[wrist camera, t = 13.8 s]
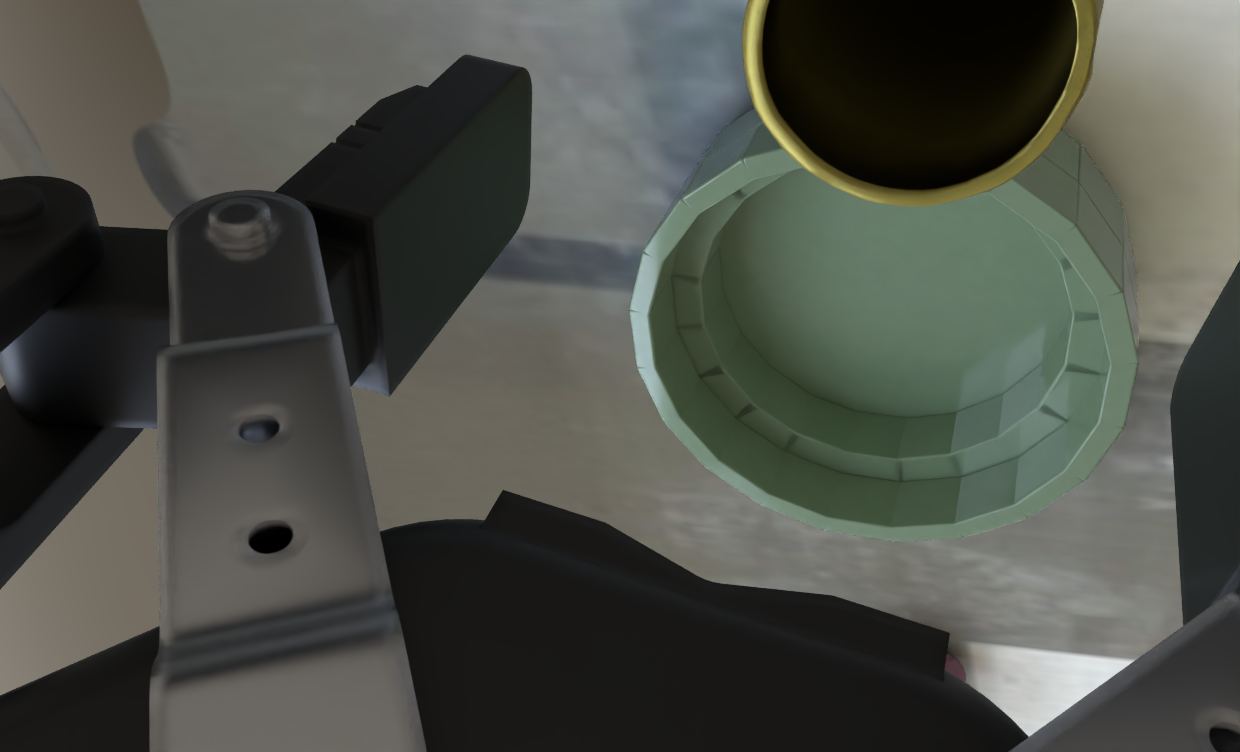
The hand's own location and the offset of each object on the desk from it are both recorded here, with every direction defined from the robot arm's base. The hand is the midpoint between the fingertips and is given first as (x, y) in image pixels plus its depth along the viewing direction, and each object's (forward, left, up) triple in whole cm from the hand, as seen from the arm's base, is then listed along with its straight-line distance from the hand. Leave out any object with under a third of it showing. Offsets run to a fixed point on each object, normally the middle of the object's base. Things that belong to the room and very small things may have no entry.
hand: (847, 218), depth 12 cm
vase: (0, 0, -20) cm, 20 cm away
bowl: (+12, -6, -19) cm, 24 cm away
